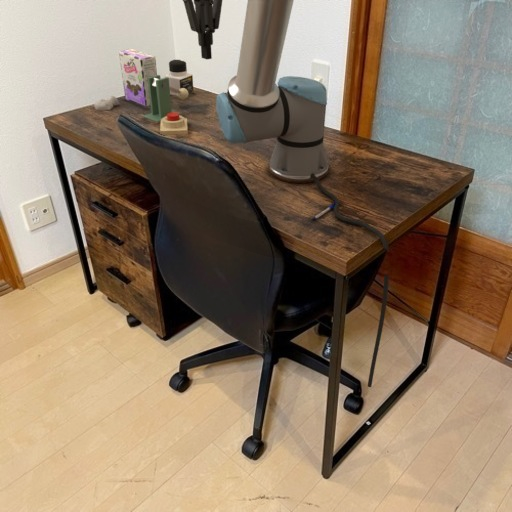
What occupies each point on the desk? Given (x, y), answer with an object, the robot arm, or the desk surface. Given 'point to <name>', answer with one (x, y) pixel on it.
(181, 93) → the lever
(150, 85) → the bracket
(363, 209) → the desk surface
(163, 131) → the button box
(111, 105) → the pale two-lobed sculpture
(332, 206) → the ballpoint pen
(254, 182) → the desk surface
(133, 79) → the candy box
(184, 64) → the medicine bottle
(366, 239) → the desk surface
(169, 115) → the button
